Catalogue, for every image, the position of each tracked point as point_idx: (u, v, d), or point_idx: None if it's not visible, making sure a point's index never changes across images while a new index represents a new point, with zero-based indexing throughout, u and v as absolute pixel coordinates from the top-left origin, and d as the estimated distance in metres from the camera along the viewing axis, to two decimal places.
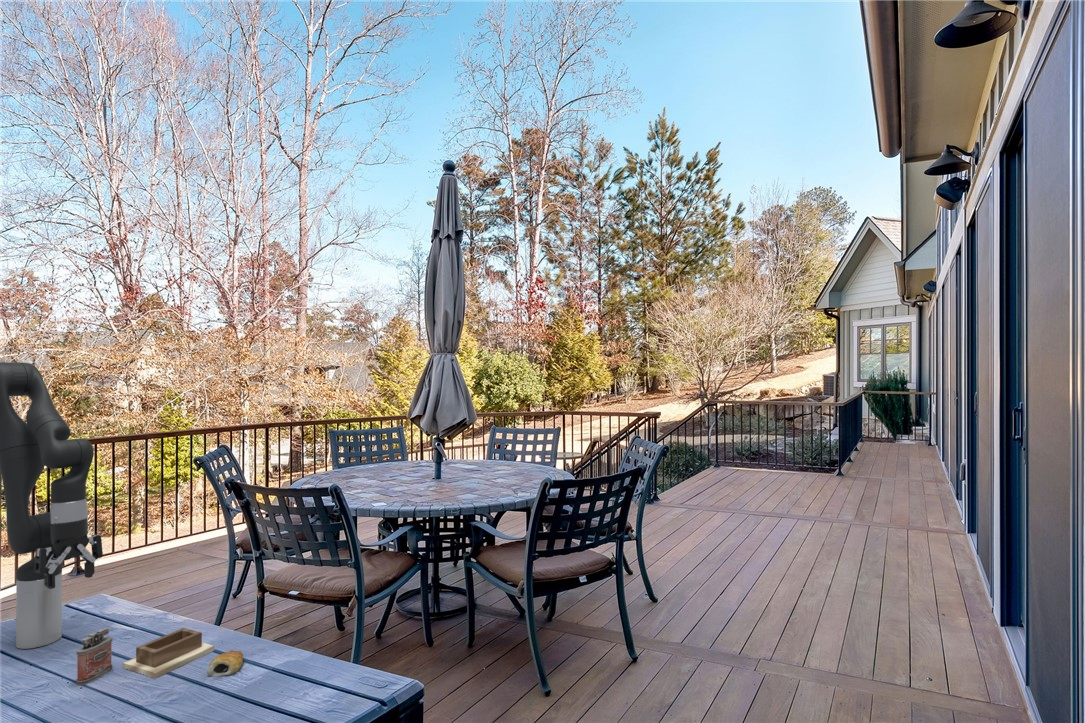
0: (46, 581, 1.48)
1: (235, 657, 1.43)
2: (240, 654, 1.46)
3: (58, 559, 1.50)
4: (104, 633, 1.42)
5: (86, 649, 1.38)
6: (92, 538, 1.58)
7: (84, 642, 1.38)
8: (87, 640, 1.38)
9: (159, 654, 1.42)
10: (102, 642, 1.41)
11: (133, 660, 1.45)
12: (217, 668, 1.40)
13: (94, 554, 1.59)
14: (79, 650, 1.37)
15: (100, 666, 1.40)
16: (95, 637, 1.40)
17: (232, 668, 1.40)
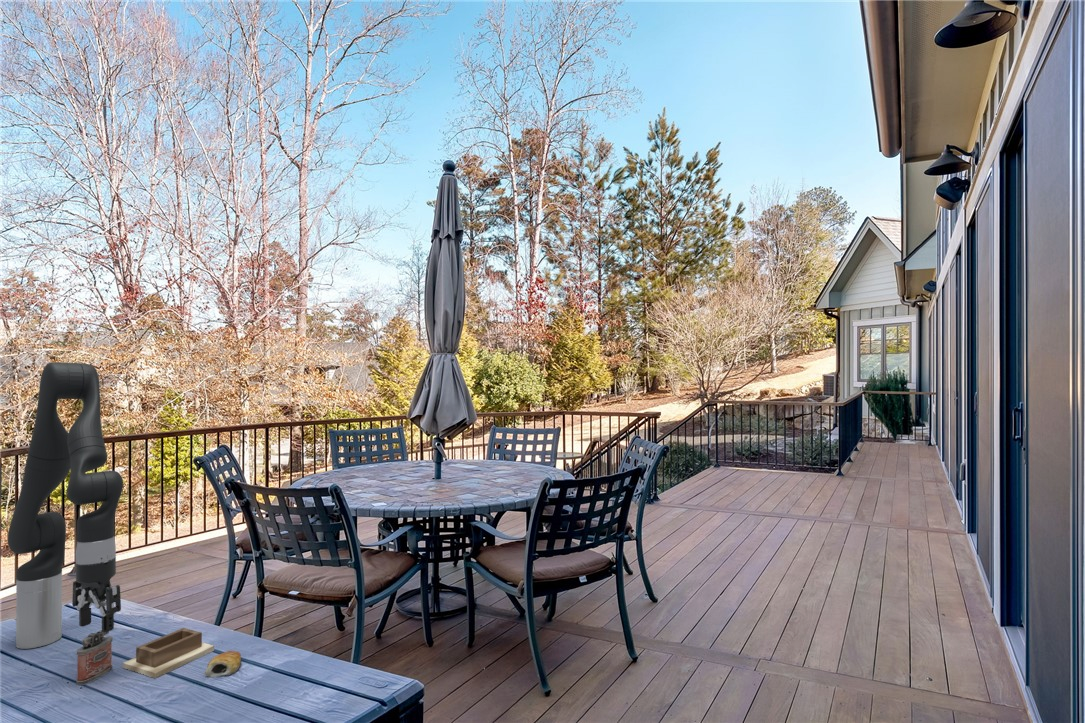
0: (111, 622, 1.38)
1: (233, 657, 1.43)
2: (238, 654, 1.46)
3: None
4: (104, 633, 1.42)
5: (86, 649, 1.38)
6: None
7: (84, 642, 1.38)
8: (87, 640, 1.38)
9: (159, 654, 1.42)
10: (102, 642, 1.41)
11: (133, 660, 1.45)
12: (215, 669, 1.40)
13: None
14: (79, 650, 1.37)
15: (100, 666, 1.40)
16: (95, 637, 1.40)
17: (230, 668, 1.40)
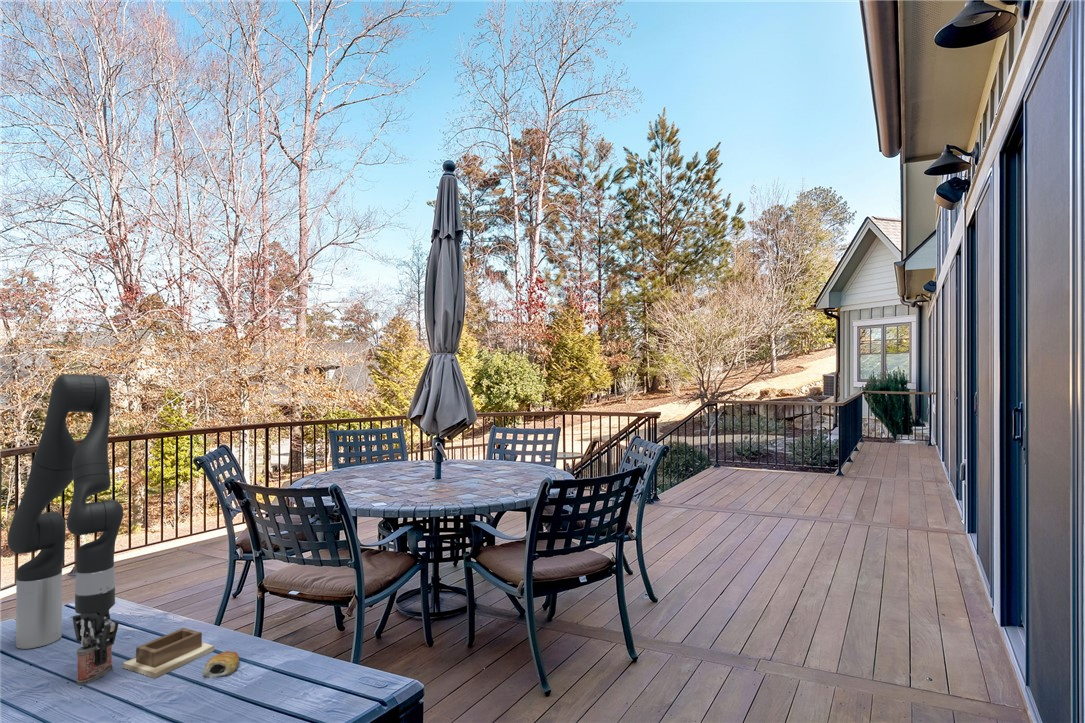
0: (104, 655, 1.39)
1: (231, 658, 1.43)
2: (236, 654, 1.46)
3: None
4: None
5: (86, 648, 1.38)
6: None
7: (84, 642, 1.38)
8: (87, 640, 1.38)
9: (159, 654, 1.42)
10: None
11: (133, 660, 1.45)
12: (213, 669, 1.40)
13: None
14: (79, 650, 1.37)
15: (100, 666, 1.40)
16: None
17: (228, 669, 1.40)
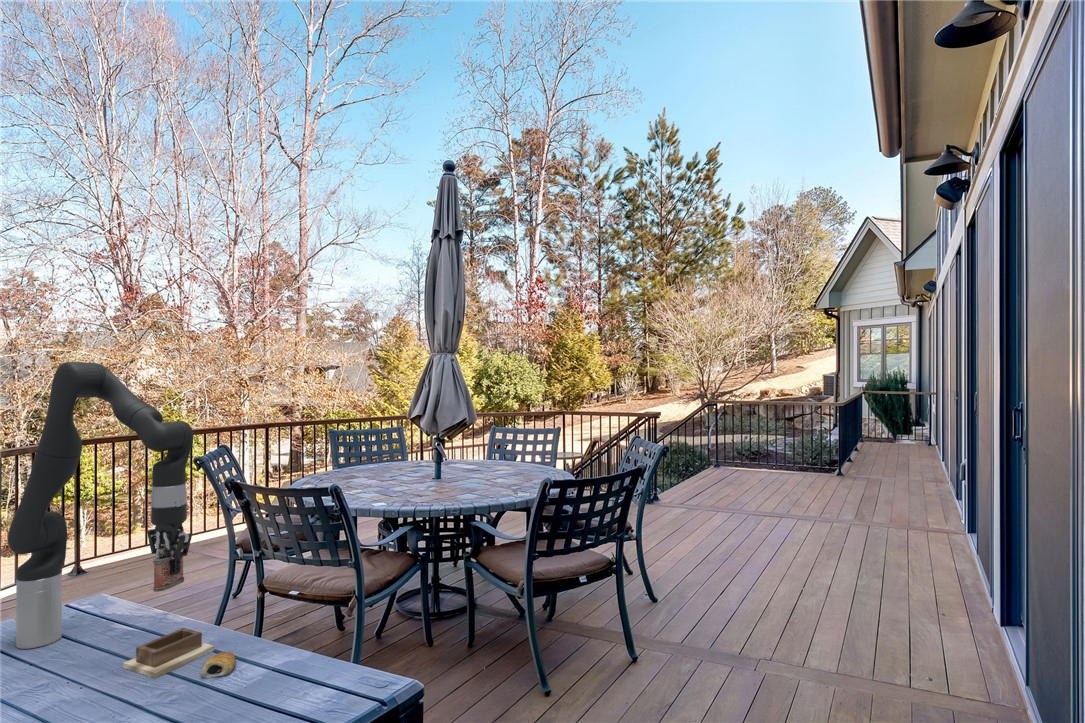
0: (178, 566, 1.47)
1: (227, 658, 1.43)
2: (232, 655, 1.46)
3: None
4: None
5: (161, 558, 1.46)
6: None
7: (160, 552, 1.46)
8: (163, 550, 1.46)
9: (159, 654, 1.42)
10: None
11: (133, 660, 1.45)
12: (210, 670, 1.39)
13: None
14: (156, 559, 1.45)
15: (174, 576, 1.48)
16: None
17: (226, 669, 1.40)
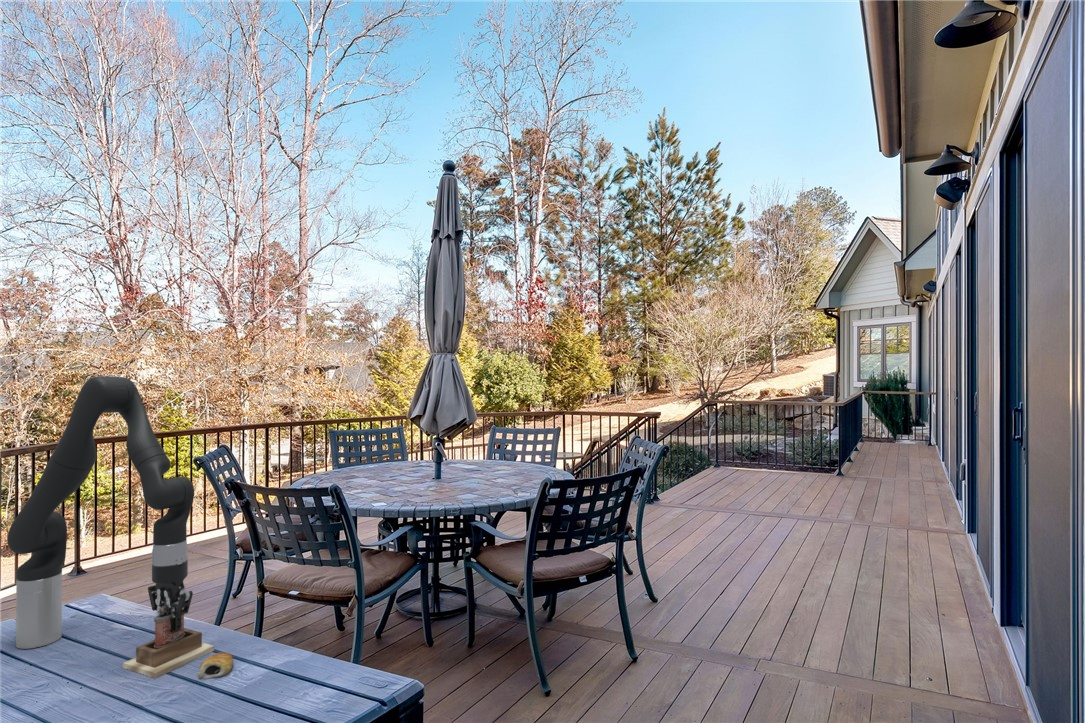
0: (179, 623, 1.47)
1: (225, 658, 1.42)
2: (230, 655, 1.46)
3: None
4: None
5: (162, 616, 1.46)
6: None
7: (161, 610, 1.46)
8: (163, 608, 1.46)
9: (159, 654, 1.42)
10: None
11: (133, 660, 1.45)
12: (208, 670, 1.39)
13: None
14: (156, 618, 1.45)
15: (175, 633, 1.48)
16: None
17: (223, 669, 1.40)
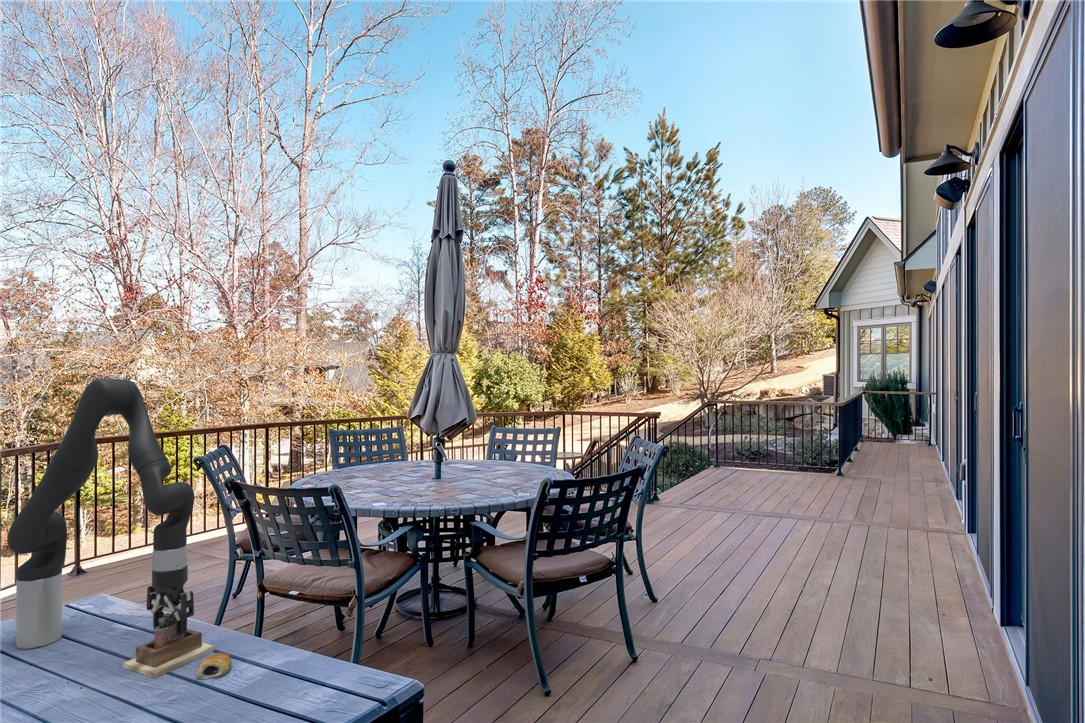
0: (184, 626, 1.46)
1: (223, 659, 1.42)
2: (227, 656, 1.45)
3: None
4: None
5: (162, 628, 1.46)
6: None
7: (160, 622, 1.46)
8: (163, 620, 1.46)
9: (159, 654, 1.42)
10: None
11: (133, 660, 1.45)
12: (206, 671, 1.39)
13: None
14: (156, 629, 1.45)
15: None
16: (170, 617, 1.48)
17: (222, 670, 1.40)
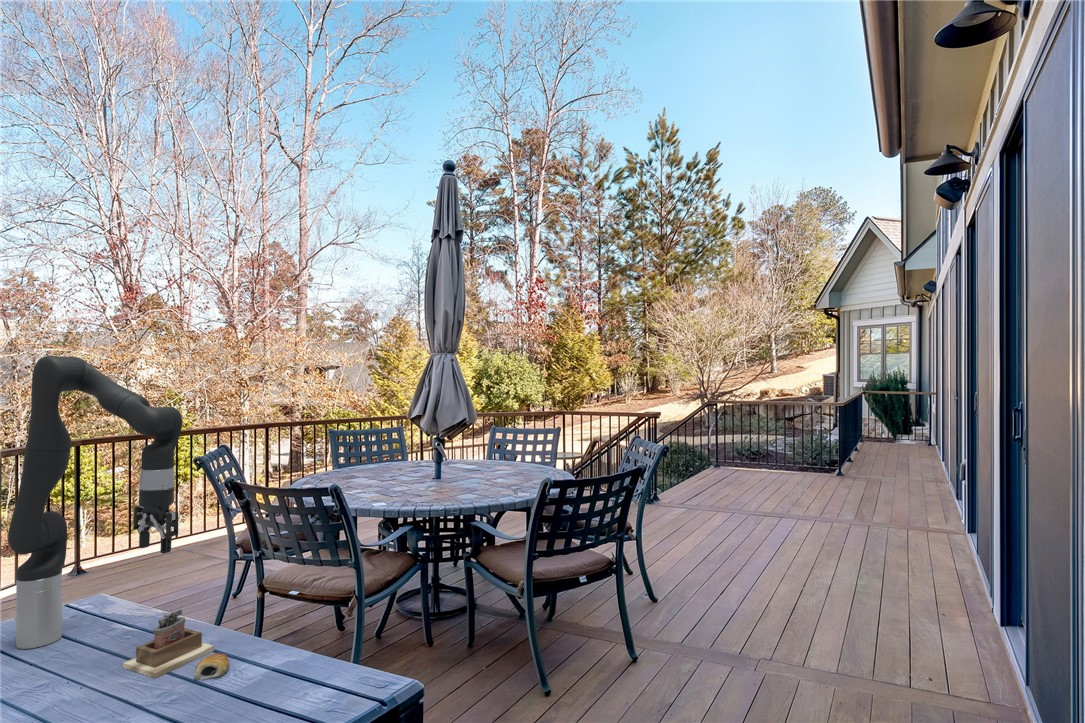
0: (169, 545, 1.51)
1: (221, 659, 1.42)
2: (225, 656, 1.45)
3: None
4: (178, 614, 1.50)
5: (162, 628, 1.46)
6: None
7: (160, 621, 1.46)
8: (163, 620, 1.46)
9: (159, 654, 1.42)
10: (176, 622, 1.49)
11: (133, 660, 1.45)
12: (204, 671, 1.39)
13: None
14: (156, 629, 1.45)
15: None
16: (170, 617, 1.48)
17: (220, 670, 1.39)
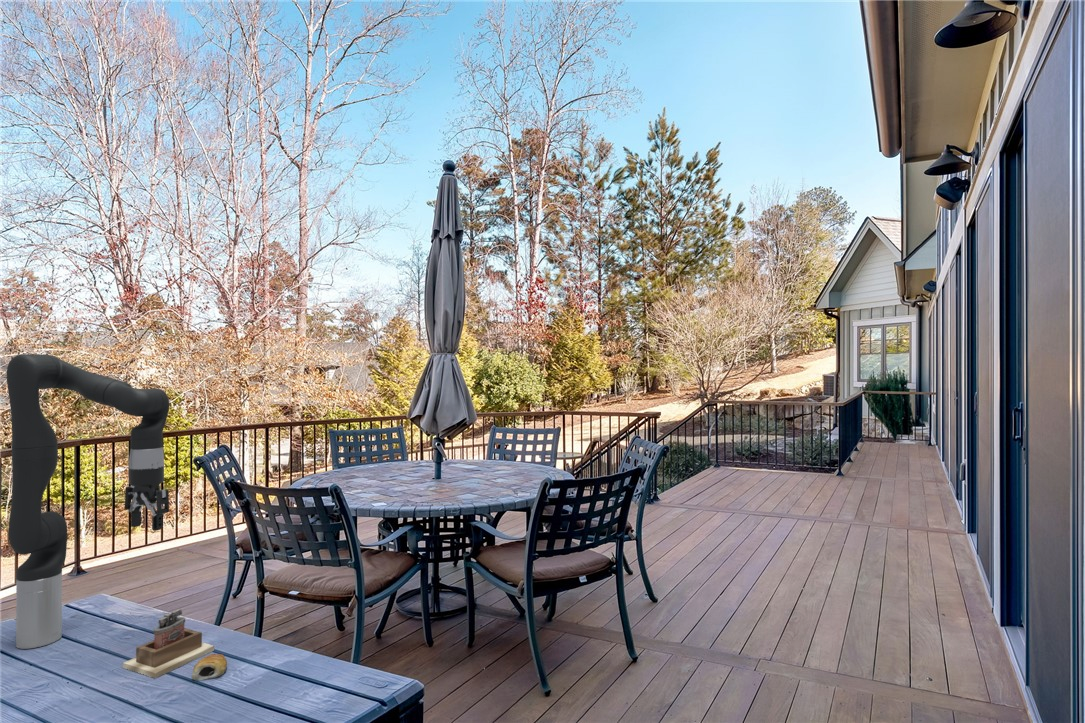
0: (160, 522, 1.54)
1: (219, 660, 1.42)
2: (223, 657, 1.45)
3: None
4: (178, 614, 1.50)
5: (162, 628, 1.46)
6: None
7: (160, 621, 1.46)
8: (163, 620, 1.46)
9: (159, 654, 1.42)
10: (176, 622, 1.49)
11: (133, 660, 1.45)
12: (202, 672, 1.38)
13: None
14: (156, 629, 1.45)
15: None
16: (170, 617, 1.48)
17: (218, 670, 1.39)
